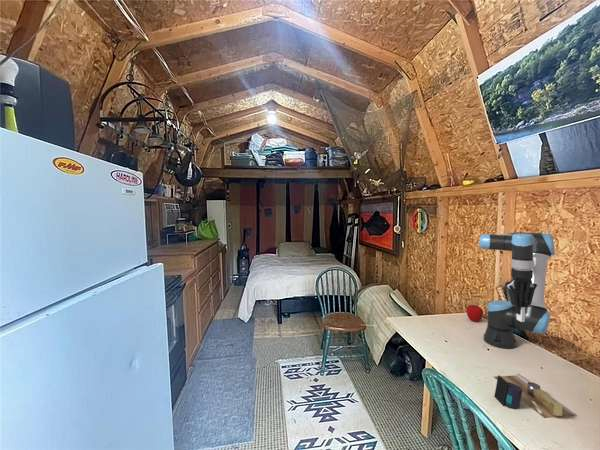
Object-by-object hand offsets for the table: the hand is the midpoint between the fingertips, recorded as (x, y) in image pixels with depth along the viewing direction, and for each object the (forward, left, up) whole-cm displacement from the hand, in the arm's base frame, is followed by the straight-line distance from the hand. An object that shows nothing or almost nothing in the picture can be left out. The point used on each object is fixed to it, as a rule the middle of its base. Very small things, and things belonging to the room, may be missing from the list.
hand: (520, 320), depth 127 cm
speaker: (+19, +18, -26) cm, 37 cm away
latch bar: (+7, +20, -24) cm, 32 cm away
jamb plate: (+7, +14, -26) cm, 30 cm away
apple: (-21, -61, -26) cm, 69 cm away
